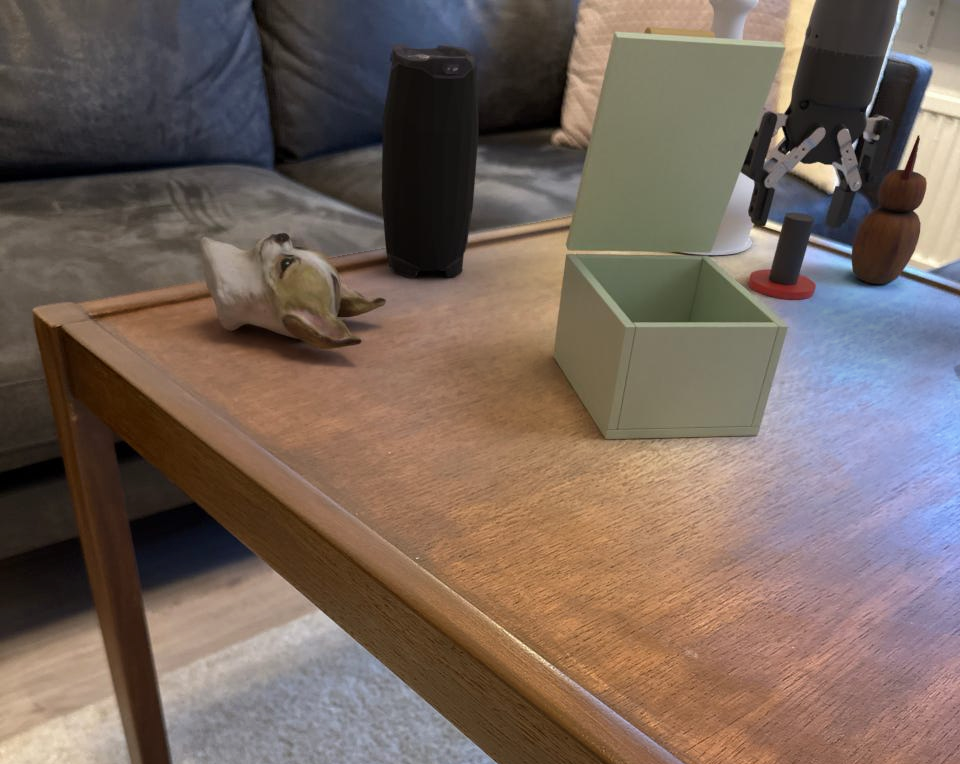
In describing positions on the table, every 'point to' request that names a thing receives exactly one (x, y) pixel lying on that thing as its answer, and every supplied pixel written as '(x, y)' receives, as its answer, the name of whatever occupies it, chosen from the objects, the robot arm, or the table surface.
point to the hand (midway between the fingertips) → (795, 225)
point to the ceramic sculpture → (282, 291)
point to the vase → (733, 235)
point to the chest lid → (669, 139)
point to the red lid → (787, 262)
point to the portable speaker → (429, 158)
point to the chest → (665, 346)
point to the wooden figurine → (890, 226)
